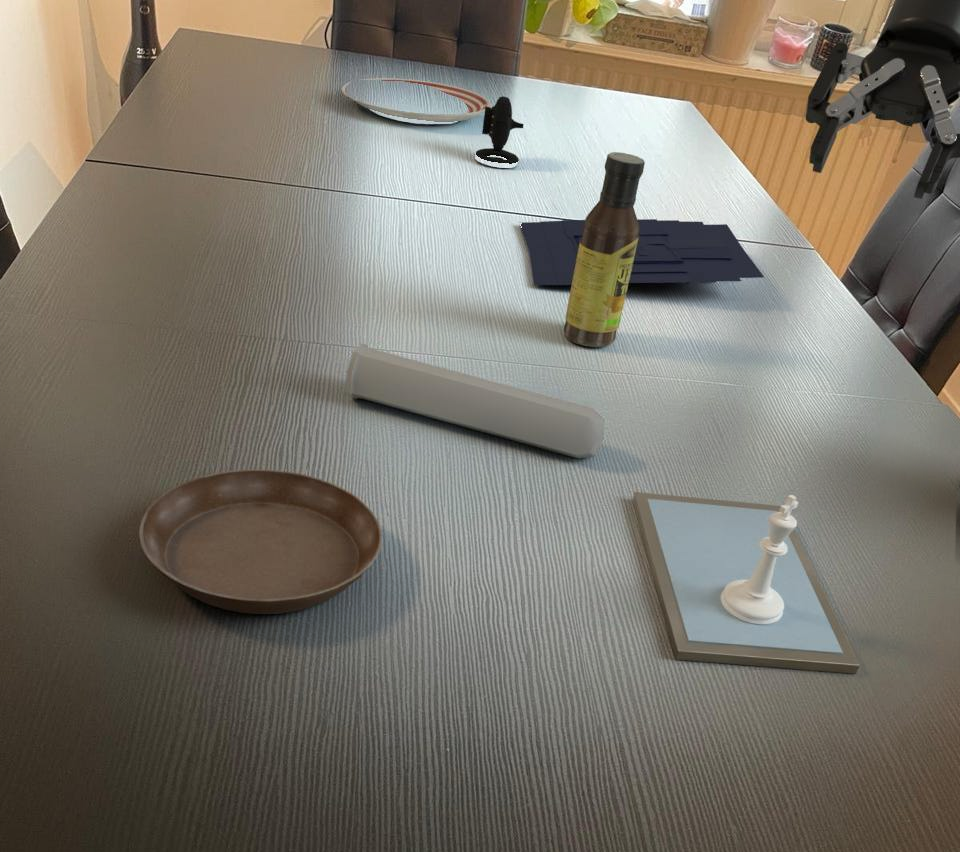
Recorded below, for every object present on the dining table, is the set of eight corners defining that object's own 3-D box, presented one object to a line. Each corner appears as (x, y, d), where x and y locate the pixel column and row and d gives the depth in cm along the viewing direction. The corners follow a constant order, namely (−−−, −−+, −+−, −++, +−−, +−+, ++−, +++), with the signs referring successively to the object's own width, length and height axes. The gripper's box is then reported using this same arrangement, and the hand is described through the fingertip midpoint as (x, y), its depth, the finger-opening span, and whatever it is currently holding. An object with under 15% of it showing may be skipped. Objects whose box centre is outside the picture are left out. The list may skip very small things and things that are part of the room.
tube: (614, 407, 97) (370, 342, 101) (607, 413, 92) (351, 344, 96) (599, 462, 99) (360, 395, 103) (592, 470, 94) (341, 400, 98)
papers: (764, 304, 131) (770, 276, 129) (532, 307, 130) (534, 278, 128) (720, 239, 150) (724, 213, 148) (517, 241, 149) (518, 215, 146)
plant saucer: (226, 476, 86) (225, 444, 85) (416, 539, 83) (419, 507, 81) (91, 584, 73) (86, 549, 71) (310, 664, 70) (311, 630, 68)
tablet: (780, 514, 94) (784, 504, 93) (855, 674, 77) (860, 664, 76) (632, 500, 92) (634, 490, 91) (675, 660, 75) (678, 649, 75)
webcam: (474, 153, 174) (482, 88, 167) (518, 159, 174) (527, 95, 168) (472, 165, 168) (480, 99, 161) (517, 172, 168) (527, 106, 162)
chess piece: (707, 598, 80) (745, 490, 74) (745, 579, 83) (784, 472, 76) (758, 633, 77) (801, 523, 71) (794, 611, 80) (839, 503, 74)
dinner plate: (316, 110, 181) (316, 90, 179) (375, 85, 202) (377, 66, 200) (460, 144, 177) (462, 123, 175) (506, 114, 198) (509, 95, 196)
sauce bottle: (612, 355, 116) (653, 170, 104) (558, 344, 117) (593, 159, 104) (617, 334, 121) (657, 155, 109) (566, 323, 122) (599, 144, 109)
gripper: (862, -44, 84) (787, 130, 83) (1042, -10, 80) (966, 173, 79) (850, 24, 91) (781, 185, 90) (1015, 59, 87) (944, 227, 86)
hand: (867, 179), depth 84 cm, fingers open, 8 cm apart
